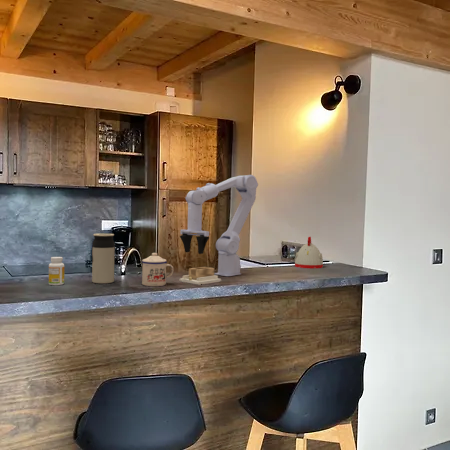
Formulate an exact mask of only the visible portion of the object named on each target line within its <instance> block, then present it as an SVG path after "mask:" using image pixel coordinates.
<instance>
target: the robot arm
mask: <svg viewBox="0 0 450 450" xmlns="http://www.w3.org/2000/svg"><path fill="white" fill-rule="evenodd" d="M258 186H259V183H258V180H257V178H256V176H255V175H254V174H247V175H246V174H245V175H237V176H233V177H230V178H228V179H226V180H223V181H221V182H219V183H217V184H214V183H210V182H208V183H206V184H205V185H204V186H201V187H199V186H198V187H196V190H189V192H188V193H186V196H185V197H184V198H185V201H186V203H187V229H180V233H179V234H180V236H179V239H180V240H181V242H182V246H183V248H184V253H190V252H191V246H192V245H191V244H192V238H193V236H195V238H196V241H197V253H198V254H199V255H203V254H204V251H205V248H206V245H207V242H208V241H209V239H210V231H207V230H202V226H203V225H202V221H203V204H204V202H206V201H208V200H211V199H213V198H216V197H217V196H218V194H219V193H220V192H222V191H223V192H224V191H225V190H228V189H231V188H235V189H236V191H237V192H238V193H239V195H240V197H241V200H240V202H239V204H238V206H237V209H236V211H235V213H234V215H233V217H232V219H231V222H230V223H229V225H228V227H227V230H226V231H224V232H223V233H222V234H221V236H220V237H219V238H218V239H217V240H216V242H215V249H216V250H217V251H218V252H217V253H218V258H217V259H218V260H217V261H218V263H217V264H218V265H217V272H214V275H217V276H224V277H231V276H233V277H234V276H239V275H242V272H241V258H240V256H239V255H238V254H237V252H238V251H239V248H240V241H241V238H240V233H241V231H242V229H243V228H244V224H245V223H246V221H247V219H248V217H249V214H250V211H251V210H252V208H253V205H254V203H255V202H256V197H257V196H256V195H257V188H258Z"/></svg>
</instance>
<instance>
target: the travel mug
mask: <svg viewBox="0 0 450 450" xmlns="http://www.w3.org/2000/svg"><path fill="white" fill-rule="evenodd" d="M114 236H115V234H114V233H93V238H94V239H93V241H92V249H91V250H92V263H91V264H92V265H91V266H92V267H91V272H92V273H91V282H92V283H94V284H105V285H106V284H111V283H113V282H115V247H116V246H115V241H114Z"/></svg>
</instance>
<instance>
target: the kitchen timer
mask: <svg viewBox="0 0 450 450" xmlns="http://www.w3.org/2000/svg"><path fill="white" fill-rule="evenodd" d="M294 261H295V262H294V267H296V268H301V269H322V267H324V262H323V253H321V252H320V250H319V248H318V247H317V246H316V245H315V244H314V243H312V237H311V236H308V237H307V243H305V244H303V245H302V246H301V248H299V250H298V252H296V253H295V259H294Z"/></svg>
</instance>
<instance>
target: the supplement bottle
mask: <svg viewBox="0 0 450 450" xmlns="http://www.w3.org/2000/svg"><path fill="white" fill-rule="evenodd" d="M63 259H64V258H63V257H62V256H51V257H50V263H49V264H48V285H49V286H62V285H64V284H65V263H63Z"/></svg>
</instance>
